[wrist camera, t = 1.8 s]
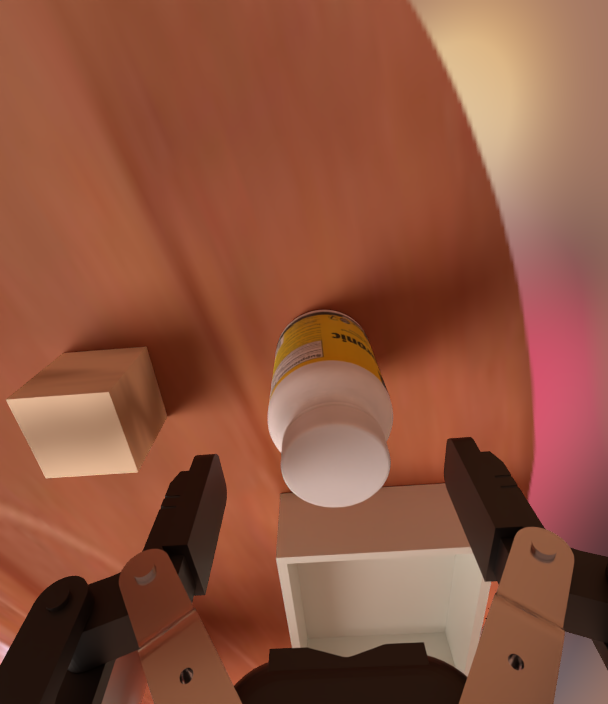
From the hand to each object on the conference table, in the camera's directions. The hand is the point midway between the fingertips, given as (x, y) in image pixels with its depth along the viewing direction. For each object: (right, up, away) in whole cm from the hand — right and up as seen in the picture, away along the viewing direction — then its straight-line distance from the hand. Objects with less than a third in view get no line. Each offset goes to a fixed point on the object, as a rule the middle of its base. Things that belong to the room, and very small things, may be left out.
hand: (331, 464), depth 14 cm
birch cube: (-12, +2, +10) cm, 16 cm away
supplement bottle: (0, +4, +9) cm, 10 cm away
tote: (+5, -13, +18) cm, 23 cm away
